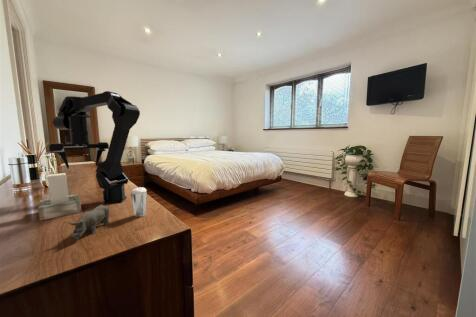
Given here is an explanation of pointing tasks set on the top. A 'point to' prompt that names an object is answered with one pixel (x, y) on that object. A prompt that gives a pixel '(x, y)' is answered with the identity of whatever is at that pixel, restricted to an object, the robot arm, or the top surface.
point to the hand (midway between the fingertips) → (82, 167)
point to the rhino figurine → (90, 221)
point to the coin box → (59, 207)
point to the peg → (58, 188)
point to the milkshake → (139, 201)
